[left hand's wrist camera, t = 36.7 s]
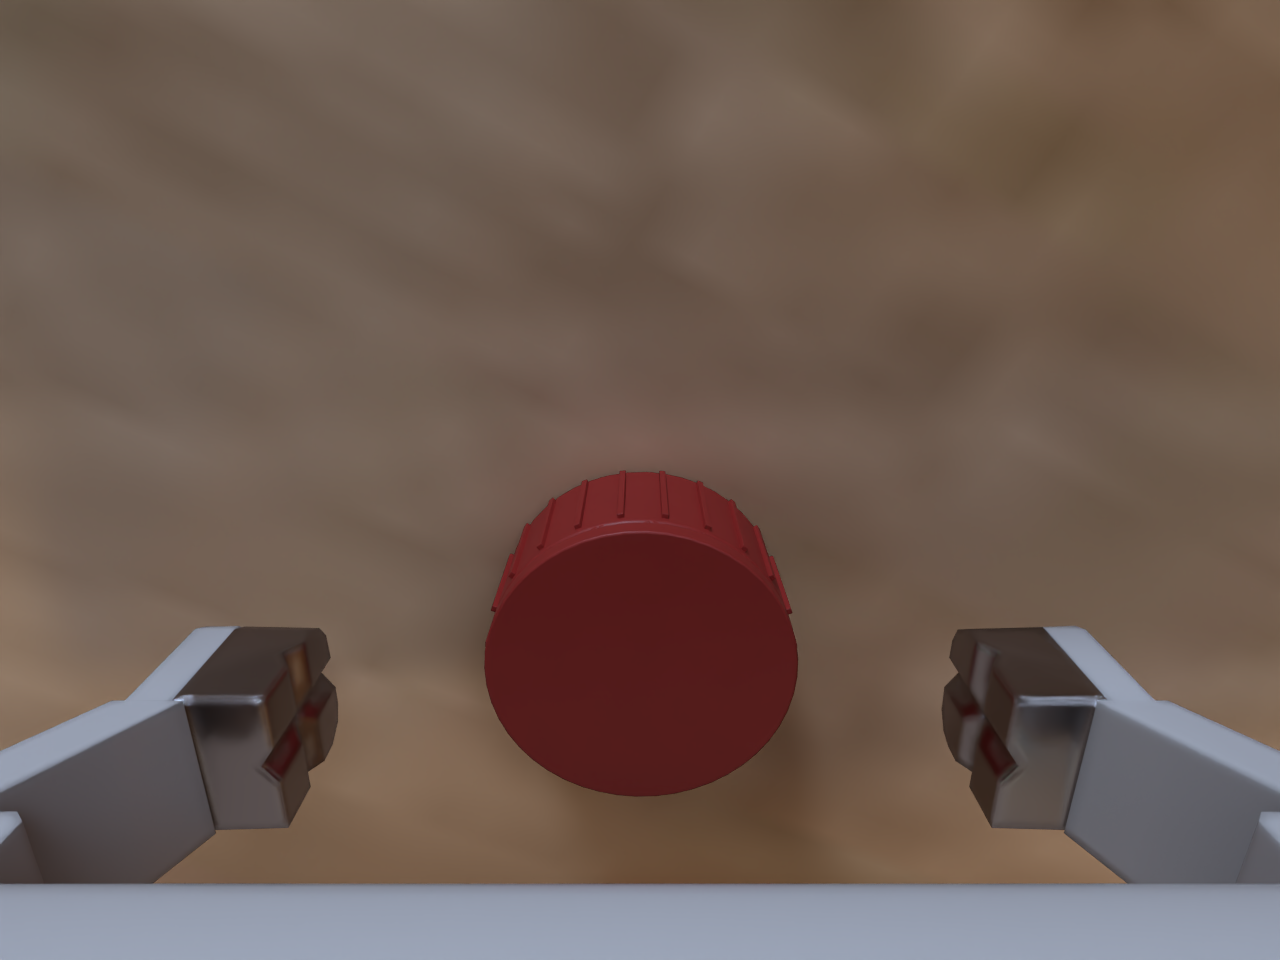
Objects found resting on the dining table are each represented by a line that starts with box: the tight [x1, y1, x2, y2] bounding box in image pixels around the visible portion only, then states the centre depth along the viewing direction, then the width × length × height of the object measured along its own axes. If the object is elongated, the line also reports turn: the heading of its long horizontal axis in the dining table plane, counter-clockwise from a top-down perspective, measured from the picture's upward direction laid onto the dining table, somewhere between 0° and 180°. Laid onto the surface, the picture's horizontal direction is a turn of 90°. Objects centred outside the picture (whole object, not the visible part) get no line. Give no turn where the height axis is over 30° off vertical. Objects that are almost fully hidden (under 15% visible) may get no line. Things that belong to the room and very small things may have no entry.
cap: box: [484, 471, 798, 796], centre depth 11 cm, size 4×4×2 cm
